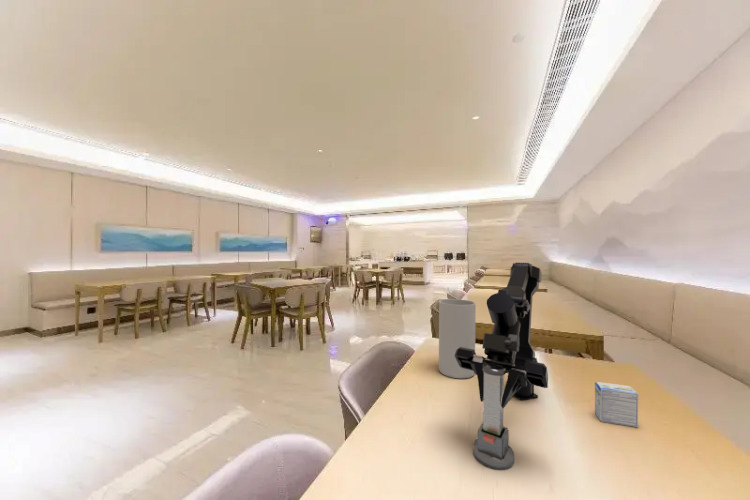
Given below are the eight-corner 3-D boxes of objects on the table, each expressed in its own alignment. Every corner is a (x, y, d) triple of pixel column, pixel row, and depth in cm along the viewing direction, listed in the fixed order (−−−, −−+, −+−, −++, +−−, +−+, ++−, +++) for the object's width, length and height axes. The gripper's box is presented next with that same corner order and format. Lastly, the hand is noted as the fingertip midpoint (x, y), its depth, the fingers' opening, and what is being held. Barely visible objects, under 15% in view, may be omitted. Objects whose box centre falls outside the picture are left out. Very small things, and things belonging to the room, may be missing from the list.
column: (485, 420, 66) (485, 361, 66) (507, 427, 64) (507, 366, 64) (478, 430, 63) (479, 368, 63) (502, 438, 60) (502, 373, 60)
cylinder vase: (469, 382, 98) (470, 306, 99) (433, 374, 105) (434, 302, 105) (478, 370, 109) (479, 301, 109) (445, 363, 116) (445, 298, 116)
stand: (479, 439, 69) (479, 414, 69) (517, 453, 64) (517, 426, 64) (467, 458, 62) (468, 431, 62) (509, 476, 57) (509, 446, 58)
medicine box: (630, 419, 78) (630, 385, 78) (638, 428, 74) (639, 393, 74) (594, 413, 80) (594, 381, 81) (600, 422, 76) (600, 388, 76)
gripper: (457, 313, 72) (438, 374, 63) (547, 324, 61) (539, 401, 52) (468, 338, 78) (452, 397, 69) (550, 353, 67) (544, 425, 58)
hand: (491, 404), depth 62 cm, fingers open, 4 cm apart
